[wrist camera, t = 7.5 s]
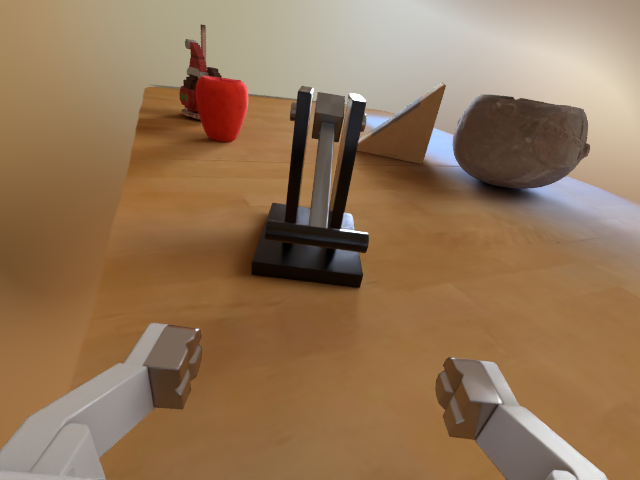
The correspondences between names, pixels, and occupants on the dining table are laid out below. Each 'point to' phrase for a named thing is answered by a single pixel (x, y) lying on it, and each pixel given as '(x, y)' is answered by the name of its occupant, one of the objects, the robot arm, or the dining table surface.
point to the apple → (221, 106)
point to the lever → (321, 188)
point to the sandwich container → (406, 130)
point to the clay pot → (520, 141)
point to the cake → (195, 75)
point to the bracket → (304, 258)
